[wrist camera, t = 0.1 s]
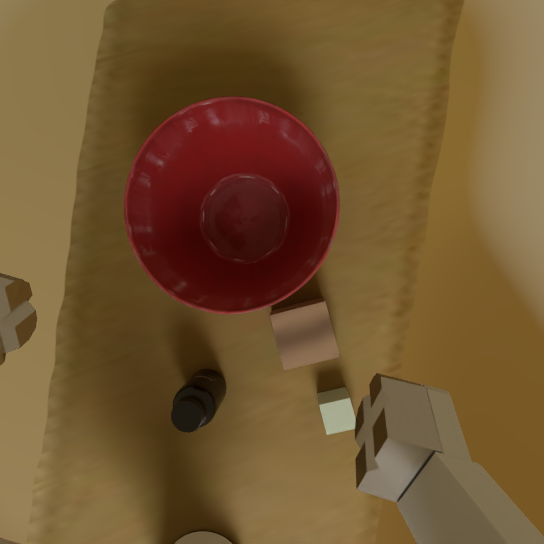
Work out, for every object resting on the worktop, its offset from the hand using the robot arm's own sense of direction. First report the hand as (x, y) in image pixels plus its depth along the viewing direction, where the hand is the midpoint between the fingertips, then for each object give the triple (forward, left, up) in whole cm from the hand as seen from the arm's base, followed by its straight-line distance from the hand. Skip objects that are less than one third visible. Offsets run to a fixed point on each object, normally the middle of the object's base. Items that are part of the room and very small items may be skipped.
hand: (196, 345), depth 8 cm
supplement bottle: (-17, +18, -55) cm, 60 cm away
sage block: (-25, -3, -54) cm, 60 cm away
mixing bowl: (+10, +4, -55) cm, 55 cm away
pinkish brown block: (-11, -1, -55) cm, 56 cm away
